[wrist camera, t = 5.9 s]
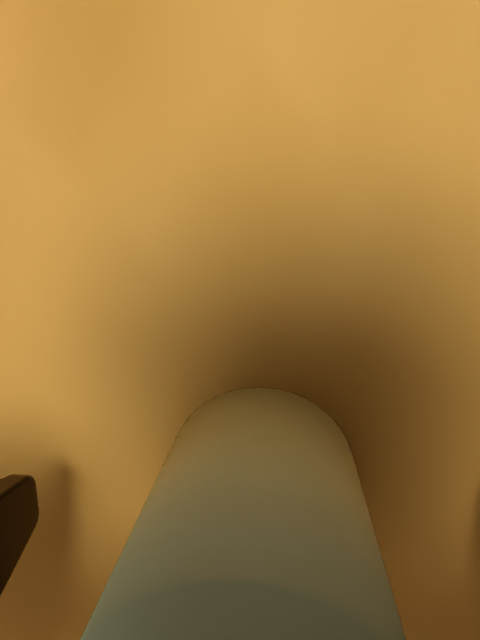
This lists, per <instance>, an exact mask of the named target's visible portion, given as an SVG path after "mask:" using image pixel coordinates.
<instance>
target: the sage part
mask: <svg viewBox="0 0 480 640" xmlns="http://www.w3.org/2000/svg"><path fill="white" fill-rule="evenodd" d="M80 640H406V638H405V635H404V631H403V628H402V625H401V621H400V618H399V614H398V611H397V607H396V604H395V600H394V597H393V593H392V590H391V586H390V583H389V579H388V576H387V573H386V569H385V566H384V562H383V559H382V555H381V552H380V548H379V545H378V541H377V538H376V534H375V531H374V527H373V524H372V521H371V517H370V514H369V510H368V507H367V503H366V500H365V496H364V493H363V489H362V486H361V482H360V479H359V475H358V472H357V469H356V465H355V462H354V458H353V455H352V452H351V448H350V445H349V443H348V441H347V439H346V437H345V435H344V434H343V432H342V431H341V429H340V428H339V426H338V425H337V424H336V423H335V421H334V420H333V419H332V418H331V417H330V416H329V415H328V414H327V413H326V412H325V411H323V410H322V409H321V408H320V407H318V406H317V405H315V404H314V403H312V402H311V401H309V400H307V399H305V398H303V397H301V396H299V395H296V394H293V393H290V392H287V391H283V390H278V389H273V388H263V387H260V388H245V389H238V390H234V391H231V392H227V393H224V394H222V395H220V396H217V397H215V398H213V399H211V400H210V401H208V402H206V403H205V404H203V405H202V406H201V407H200V408H198V409H197V410H196V411H195V412H194V413H193V414H192V415H191V416H190V417H189V418H188V419H187V421H186V422H185V423H184V425H183V426H182V428H181V429H180V431H179V433H178V435H177V437H176V439H175V442H174V444H173V446H172V448H171V450H170V452H169V454H168V456H167V458H166V460H165V462H164V465H163V467H162V469H161V471H160V473H159V475H158V477H157V479H156V481H155V483H154V486H153V488H152V490H151V492H150V494H149V496H148V498H147V500H146V502H145V504H144V507H143V509H142V511H141V513H140V515H139V517H138V519H137V521H136V523H135V525H134V528H133V530H132V532H131V534H130V536H129V538H128V540H127V542H126V544H125V546H124V549H123V551H122V553H121V555H120V557H119V559H118V561H117V563H116V565H115V567H114V570H113V572H112V574H111V576H110V578H109V580H108V582H107V584H106V586H105V588H104V591H103V593H102V595H101V597H100V599H99V601H98V603H97V605H96V607H95V609H94V612H93V614H92V616H91V618H90V620H89V622H88V624H87V626H86V628H85V630H84V633H83V635H82V637H81V639H80Z"/></svg>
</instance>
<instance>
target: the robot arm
mask: <svg viewBox="0 0 480 640" xmlns="http://www.w3.org/2000/svg"><path fill="white" fill-rule="evenodd" d="M38 517H39V508H38V499H37V491H36V483H35V480H34V478H33V477H32V476H30V475H15V474H14V475H9V476H7V477H5V478H2V479H0V595H1V594H2V592H3V590H4V588H5V586H6V584H7V582H8V580H9V578H10V576H11V574H12V572H13V570H14V568H15V566H16V564H17V562H18V560H19V558H20V556H21V554H22V552H23V550H24V548H25V546H26V544H27V542H28V540H29V538H30V536H31V534H32V532H33V530H34V528H35V526H36V524H37V521H38Z"/></svg>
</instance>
